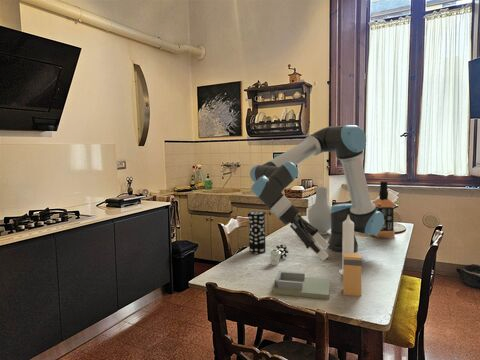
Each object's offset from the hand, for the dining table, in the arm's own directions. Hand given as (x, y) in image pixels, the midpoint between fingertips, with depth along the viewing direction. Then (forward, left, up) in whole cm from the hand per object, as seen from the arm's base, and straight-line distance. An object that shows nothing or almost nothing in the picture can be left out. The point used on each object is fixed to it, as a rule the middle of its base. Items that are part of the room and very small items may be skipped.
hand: (326, 252), depth 127 cm
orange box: (-8, +4, -15) cm, 17 cm away
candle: (-16, -13, -15) cm, 25 cm away
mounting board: (+8, -5, -14) cm, 17 cm away
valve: (+6, -36, -15) cm, 39 cm away
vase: (-36, -76, -15) cm, 85 cm away
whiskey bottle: (-66, -59, -15) cm, 90 cm away
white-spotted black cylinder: (+11, -53, -15) cm, 56 cm away
